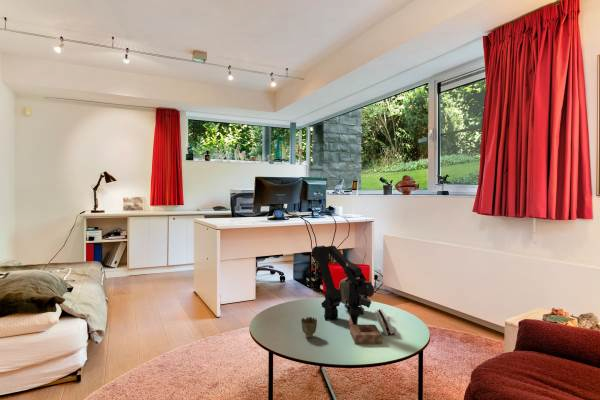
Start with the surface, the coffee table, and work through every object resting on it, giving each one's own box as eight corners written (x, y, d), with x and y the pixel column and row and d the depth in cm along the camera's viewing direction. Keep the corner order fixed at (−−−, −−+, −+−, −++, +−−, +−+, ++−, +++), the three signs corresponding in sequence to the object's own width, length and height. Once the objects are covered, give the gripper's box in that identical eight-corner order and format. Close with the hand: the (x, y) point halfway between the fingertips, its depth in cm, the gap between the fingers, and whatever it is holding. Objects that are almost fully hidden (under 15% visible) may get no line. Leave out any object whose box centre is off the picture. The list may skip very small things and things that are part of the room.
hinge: (396, 335, 162) (389, 315, 162) (386, 338, 162) (380, 318, 162) (387, 322, 178) (381, 304, 178) (379, 324, 179) (373, 306, 178)
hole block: (355, 344, 152) (355, 335, 152) (350, 332, 164) (350, 324, 164) (381, 343, 153) (381, 334, 153) (374, 332, 165) (375, 324, 165)
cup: (305, 341, 154) (305, 323, 154) (298, 335, 161) (298, 318, 161) (320, 338, 158) (320, 321, 158) (312, 332, 164) (312, 315, 164)
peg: (350, 328, 169) (350, 312, 169) (348, 325, 173) (349, 309, 173) (358, 328, 169) (358, 312, 169) (356, 325, 173) (356, 309, 173)
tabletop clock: (367, 310, 196) (367, 266, 195) (361, 315, 188) (361, 269, 187) (343, 305, 203) (344, 263, 203) (337, 310, 196) (337, 266, 195)
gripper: (374, 297, 162) (374, 330, 162) (365, 286, 181) (365, 316, 181) (351, 297, 161) (350, 330, 162) (344, 286, 180) (344, 316, 181)
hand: (353, 323), depth 171 cm, fingers open, 6 cm apart
